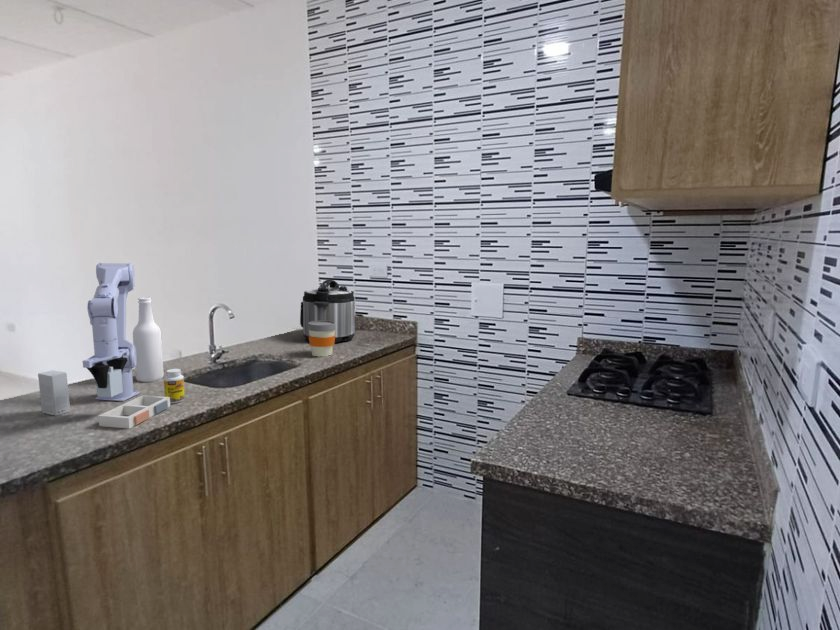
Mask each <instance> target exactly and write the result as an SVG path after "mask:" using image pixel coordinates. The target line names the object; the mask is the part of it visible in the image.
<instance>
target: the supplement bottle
mask: <svg viewBox="0 0 840 630" xmlns="http://www.w3.org/2000/svg"><path fill="white" fill-rule="evenodd" d="M163 377H164V378H163V384H164V385H163V387H164V397H170V405H174V404H179V403H182V402H184V401H185V399H186V397H185V396H186V395H185V394H186V393H185V376H184V375H183V374H182V371H181V369H180V368H171V369H170V368H169V369H166V374H165V376H163Z"/></svg>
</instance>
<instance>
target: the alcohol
mask: <svg viewBox="0 0 840 630" xmlns="http://www.w3.org/2000/svg"><path fill="white" fill-rule="evenodd" d="M137 300H138V321H137V324H136V325H135V327H134V328H133V330H132V344H134V346H135V348H136V358H137V362H136V366H135V368H134V369H135V373H134V374H135V379H136V380H137V382H140V383H152V382H157V381H159V380H161V379H163V377H165V376H164V358H163V343H162V342H163V340H162V331H161V328H160V326H159V325H158V323H156V322H155V320H154V313H153V307H152V298H151V297H149V296H148V297H147V296H146V297H143V296H142V297H138V299H137Z"/></svg>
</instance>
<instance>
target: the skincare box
mask: <svg viewBox="0 0 840 630" xmlns="http://www.w3.org/2000/svg"><path fill="white" fill-rule="evenodd" d="M67 375H68V374H67V372H65V371H61V370H60V371H58V370H49V371H43V372H40V373H38V374H37V377H38V386H39V397H40V398H39V399H40V407H41V413H42V414H45V413H46V415H50V416H54V415H55V417H56V416H61V415H63V414H66V413H70V412H71V406H70V405H71V404H70V396H69V395H70V394H69V386H68V376H67Z"/></svg>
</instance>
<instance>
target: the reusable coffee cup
mask: <svg viewBox="0 0 840 630" xmlns="http://www.w3.org/2000/svg"><path fill="white" fill-rule="evenodd" d="M335 329H336V324H335V322H333V321H312V322H309V323H308V330H309V335H308V336H309V341H308V342H309V346H310V349H311V356H312V355H313V356H312V357H314V356H328V355H331V354H332V355H333V348H334V345H335V343H336V342H335ZM332 355H331V356H332Z"/></svg>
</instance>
